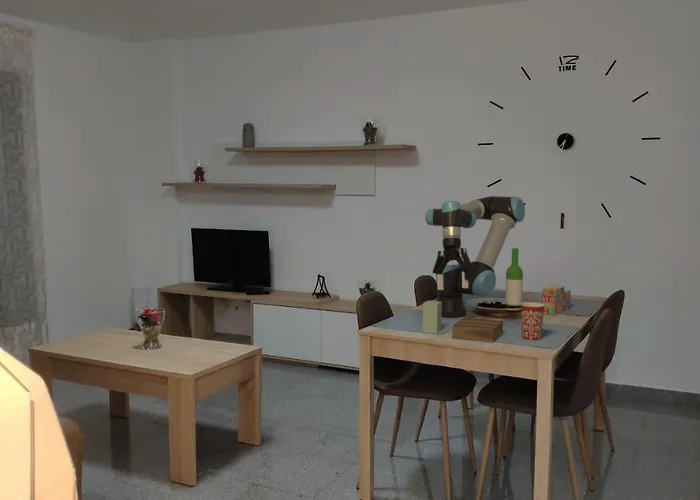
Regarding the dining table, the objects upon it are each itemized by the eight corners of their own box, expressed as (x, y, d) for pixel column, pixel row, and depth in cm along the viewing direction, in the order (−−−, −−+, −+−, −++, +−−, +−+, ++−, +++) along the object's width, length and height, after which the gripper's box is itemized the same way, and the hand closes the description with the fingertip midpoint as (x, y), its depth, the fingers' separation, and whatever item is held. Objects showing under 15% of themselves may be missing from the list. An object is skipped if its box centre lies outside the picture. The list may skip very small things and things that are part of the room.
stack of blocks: (557, 307, 324) (558, 282, 323) (570, 308, 320) (571, 283, 319) (541, 314, 307) (542, 288, 306) (554, 315, 304) (555, 289, 302)
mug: (542, 341, 253) (544, 307, 251) (518, 339, 256) (519, 305, 254) (544, 334, 264) (546, 301, 263) (521, 332, 268) (522, 300, 266)
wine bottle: (501, 310, 314) (503, 248, 311) (511, 308, 319) (512, 247, 316) (515, 313, 308) (517, 249, 305) (524, 311, 313) (527, 248, 310)
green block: (427, 328, 274) (427, 300, 272) (441, 330, 271) (441, 301, 270) (422, 331, 268) (423, 302, 267) (436, 333, 266) (437, 304, 265)
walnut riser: (463, 329, 273) (464, 317, 273) (502, 333, 267) (502, 320, 266) (452, 338, 257) (452, 325, 256) (493, 342, 250) (493, 329, 250)
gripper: (423, 240, 281) (424, 290, 278) (468, 233, 262) (470, 286, 259) (435, 242, 286) (436, 290, 283) (480, 235, 267) (482, 287, 264)
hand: (452, 289), depth 271 cm, fingers open, 13 cm apart
